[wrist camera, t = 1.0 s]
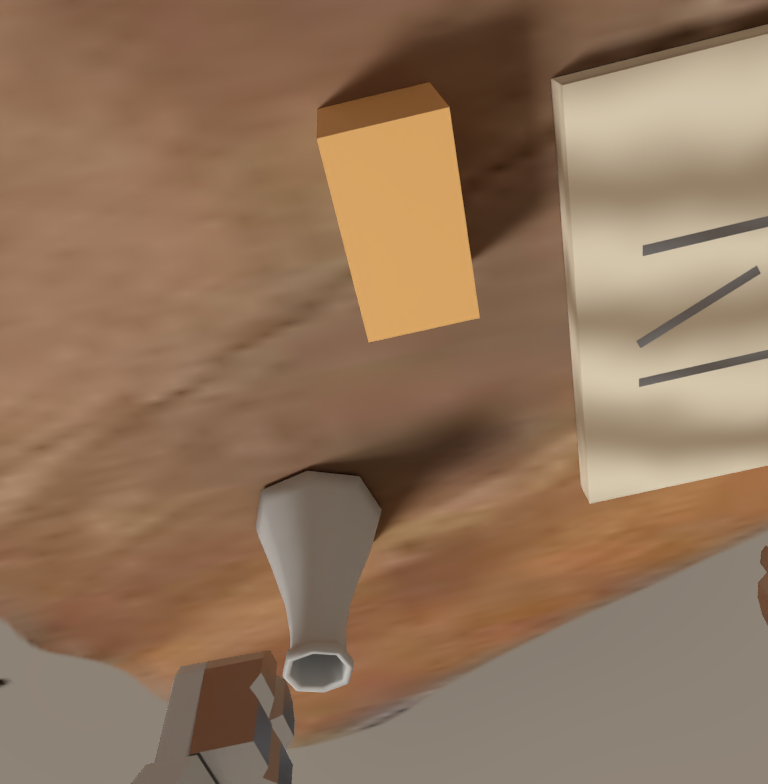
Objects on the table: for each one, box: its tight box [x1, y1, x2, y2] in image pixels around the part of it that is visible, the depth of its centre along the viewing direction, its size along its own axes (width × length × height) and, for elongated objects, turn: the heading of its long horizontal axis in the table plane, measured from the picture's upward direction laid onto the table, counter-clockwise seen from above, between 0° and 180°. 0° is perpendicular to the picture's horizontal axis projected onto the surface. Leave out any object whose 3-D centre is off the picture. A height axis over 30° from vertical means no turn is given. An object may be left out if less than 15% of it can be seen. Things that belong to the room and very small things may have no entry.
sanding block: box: [317, 82, 480, 342], centre depth 27 cm, size 8×4×5 cm, turn 12°
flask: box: [256, 471, 382, 692], centre depth 34 cm, size 7×7×10 cm
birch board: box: [551, 24, 768, 503], centre depth 32 cm, size 22×12×2 cm, turn 12°
